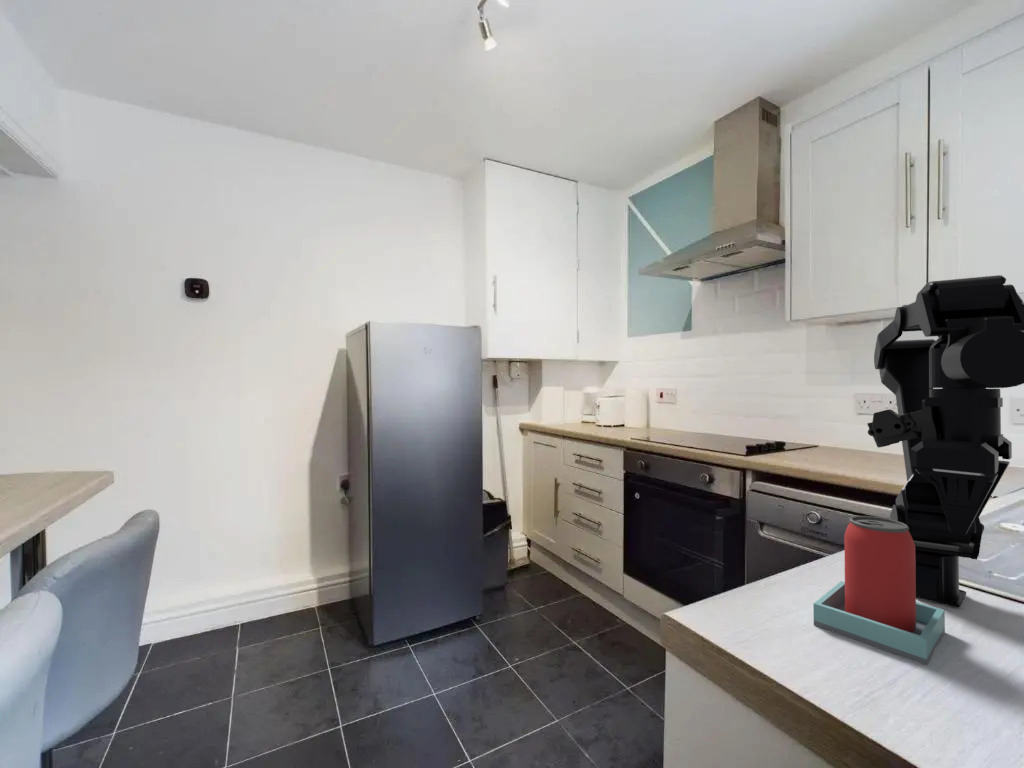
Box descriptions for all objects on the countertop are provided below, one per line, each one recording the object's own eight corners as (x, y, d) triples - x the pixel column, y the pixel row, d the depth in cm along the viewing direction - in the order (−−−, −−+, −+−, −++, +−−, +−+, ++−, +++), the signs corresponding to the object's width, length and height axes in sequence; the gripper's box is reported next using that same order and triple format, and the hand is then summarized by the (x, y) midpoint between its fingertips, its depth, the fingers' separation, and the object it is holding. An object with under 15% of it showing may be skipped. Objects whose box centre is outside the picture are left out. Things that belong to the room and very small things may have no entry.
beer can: (846, 604, 59) (845, 511, 59) (914, 621, 55) (913, 521, 55) (843, 625, 54) (842, 523, 54) (918, 644, 49) (917, 534, 50)
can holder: (841, 600, 61) (841, 581, 61) (944, 632, 53) (944, 610, 53) (813, 625, 55) (813, 603, 55) (926, 665, 47) (926, 639, 47)
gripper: (893, 388, 64) (894, 500, 63) (852, 388, 52) (853, 525, 52) (1011, 388, 55) (1012, 518, 55) (993, 388, 43) (995, 552, 43)
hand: (964, 526), depth 51 cm, fingers open, 9 cm apart
